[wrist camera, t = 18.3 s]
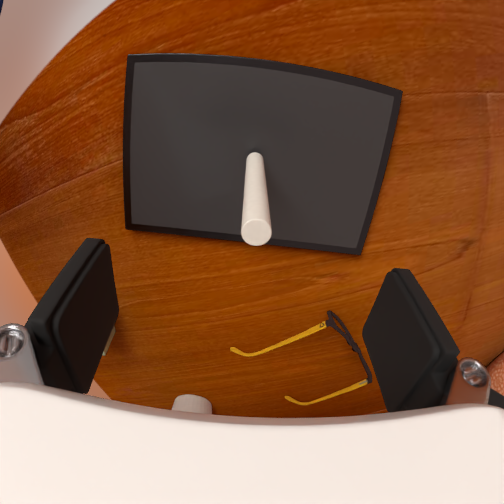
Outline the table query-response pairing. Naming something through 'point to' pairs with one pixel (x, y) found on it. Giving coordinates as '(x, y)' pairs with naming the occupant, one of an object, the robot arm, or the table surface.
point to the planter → (497, 374)
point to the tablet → (254, 148)
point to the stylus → (255, 203)
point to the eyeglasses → (310, 331)
